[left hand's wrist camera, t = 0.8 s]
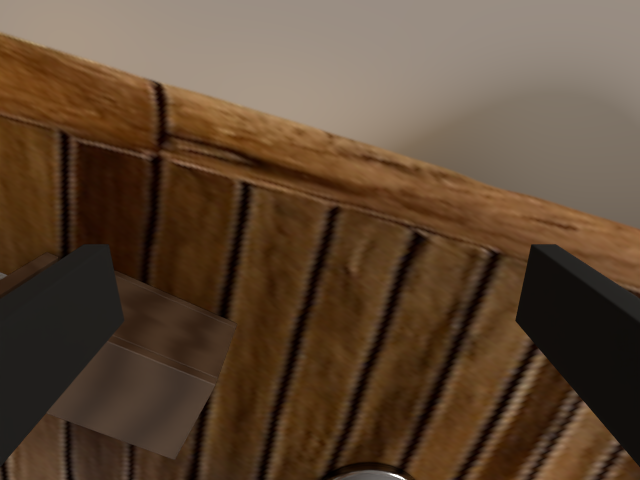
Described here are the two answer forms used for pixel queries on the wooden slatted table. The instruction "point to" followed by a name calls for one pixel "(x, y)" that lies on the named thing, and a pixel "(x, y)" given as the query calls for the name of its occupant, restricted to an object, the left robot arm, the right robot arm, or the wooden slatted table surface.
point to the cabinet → (150, 371)
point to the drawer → (25, 273)
